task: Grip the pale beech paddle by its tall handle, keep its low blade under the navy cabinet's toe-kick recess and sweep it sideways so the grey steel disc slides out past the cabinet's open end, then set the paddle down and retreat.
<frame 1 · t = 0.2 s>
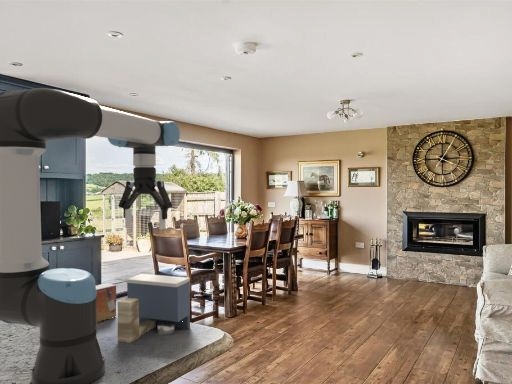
hand: (145, 228, 143), 28 cm above the kitchen island, fingers open, 13 cm apart
navy cabinet: (159, 328, 123), on the kitchen island
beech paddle: (128, 339, 114), on the kitchen island
small box: (101, 319, 132), on the kitchen island
steel token: (166, 332, 120), on the kitchen island
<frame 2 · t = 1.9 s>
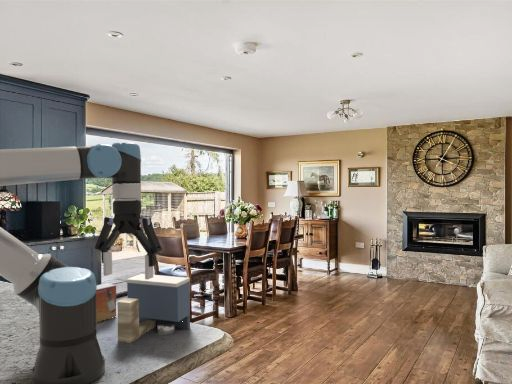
hand: (128, 276, 114), 18 cm above the kitchen island, fingers open, 13 cm apart
nothing on the kitchen island moved.
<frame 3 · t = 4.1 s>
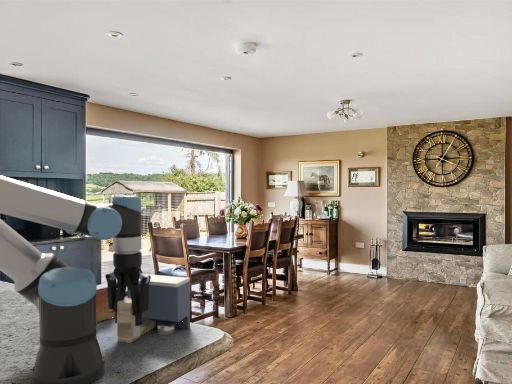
hand: (128, 335, 114), 1 cm above the kitchen island, fingers closed on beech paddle, 4 cm apart
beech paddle: (128, 339, 114), on the kitchen island, touching gripper
everything else where it was.
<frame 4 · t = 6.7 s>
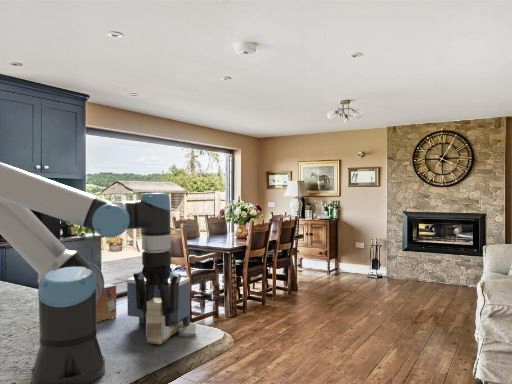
hand: (157, 336, 111), 2 cm above the kitchen island, fingers closed on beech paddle, 4 cm apart
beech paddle: (157, 340, 111), point 1 cm above the kitchen island, touching gripper, steel token
steel token: (186, 334, 118), on the kitchen island, touching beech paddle
everything else where it was.
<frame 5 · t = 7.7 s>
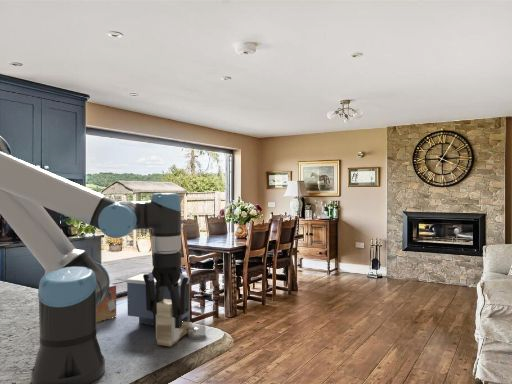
hand: (167, 338, 110), 2 cm above the kitchen island, fingers closed on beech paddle, 4 cm apart
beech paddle: (167, 342, 110), point 1 cm above the kitchen island, touching gripper
steel token: (196, 336, 117), on the kitchen island
everything else where it was.
when the fingers open (1 cm above the kitchen island, at t = 8.7 s): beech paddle stays where it is, on the kitchen island.
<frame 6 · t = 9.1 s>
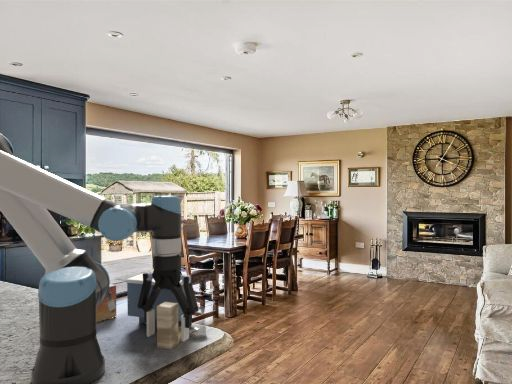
hand: (167, 337, 110), 2 cm above the kitchen island, fingers open, 10 cm apart
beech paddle: (167, 345, 110), on the kitchen island
everything else where it was.
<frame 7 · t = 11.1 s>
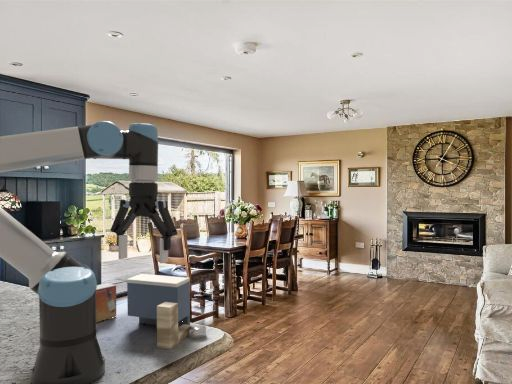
hand: (142, 260, 111), 22 cm above the kitchen island, fingers open, 13 cm apart
nothing on the kitchen island moved.
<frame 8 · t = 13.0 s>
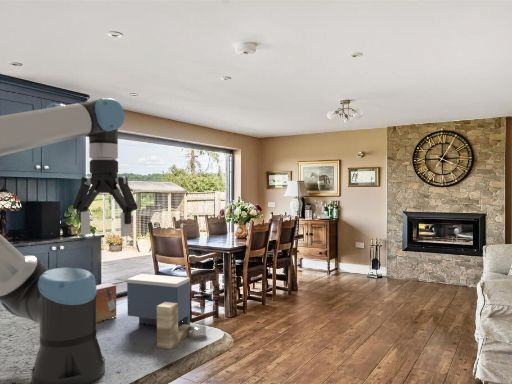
hand: (105, 235, 116), 29 cm above the kitchen island, fingers open, 13 cm apart
nothing on the kitchen island moved.
at the end: steel token inside the target area (1.0 cm from its centre), on the kitchen island; the gripper is holding nothing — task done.
